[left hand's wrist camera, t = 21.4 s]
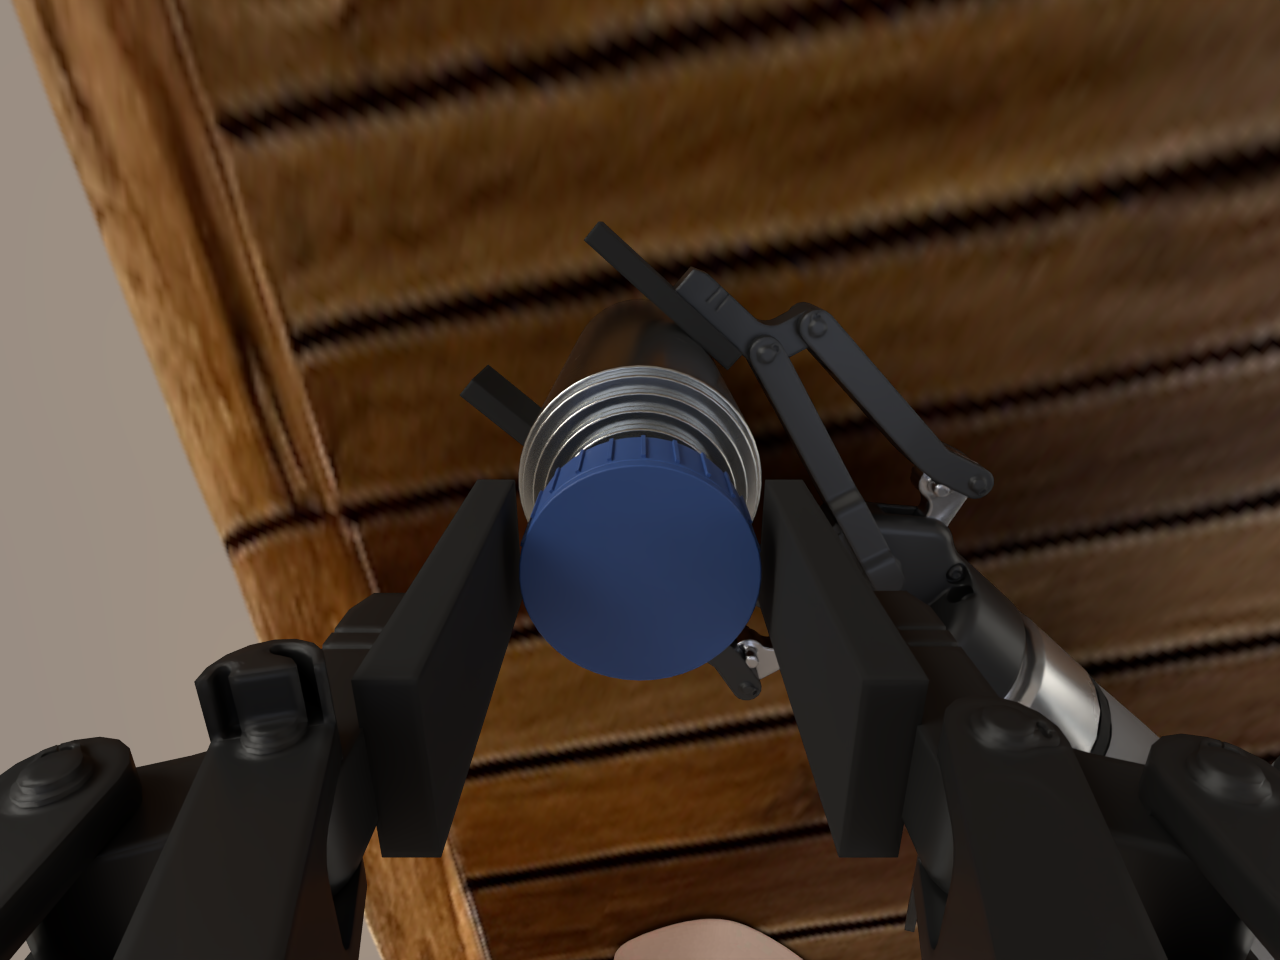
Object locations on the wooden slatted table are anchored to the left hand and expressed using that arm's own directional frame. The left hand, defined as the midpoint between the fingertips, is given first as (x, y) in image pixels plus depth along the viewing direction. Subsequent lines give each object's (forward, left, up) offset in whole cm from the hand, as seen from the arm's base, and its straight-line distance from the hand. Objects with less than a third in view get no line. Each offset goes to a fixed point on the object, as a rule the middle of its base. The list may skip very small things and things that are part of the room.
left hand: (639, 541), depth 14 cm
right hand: (+3, -4, -12) cm, 13 cm away
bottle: (0, 0, -18) cm, 18 cm away
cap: (0, 0, +1) cm, 1 cm away
